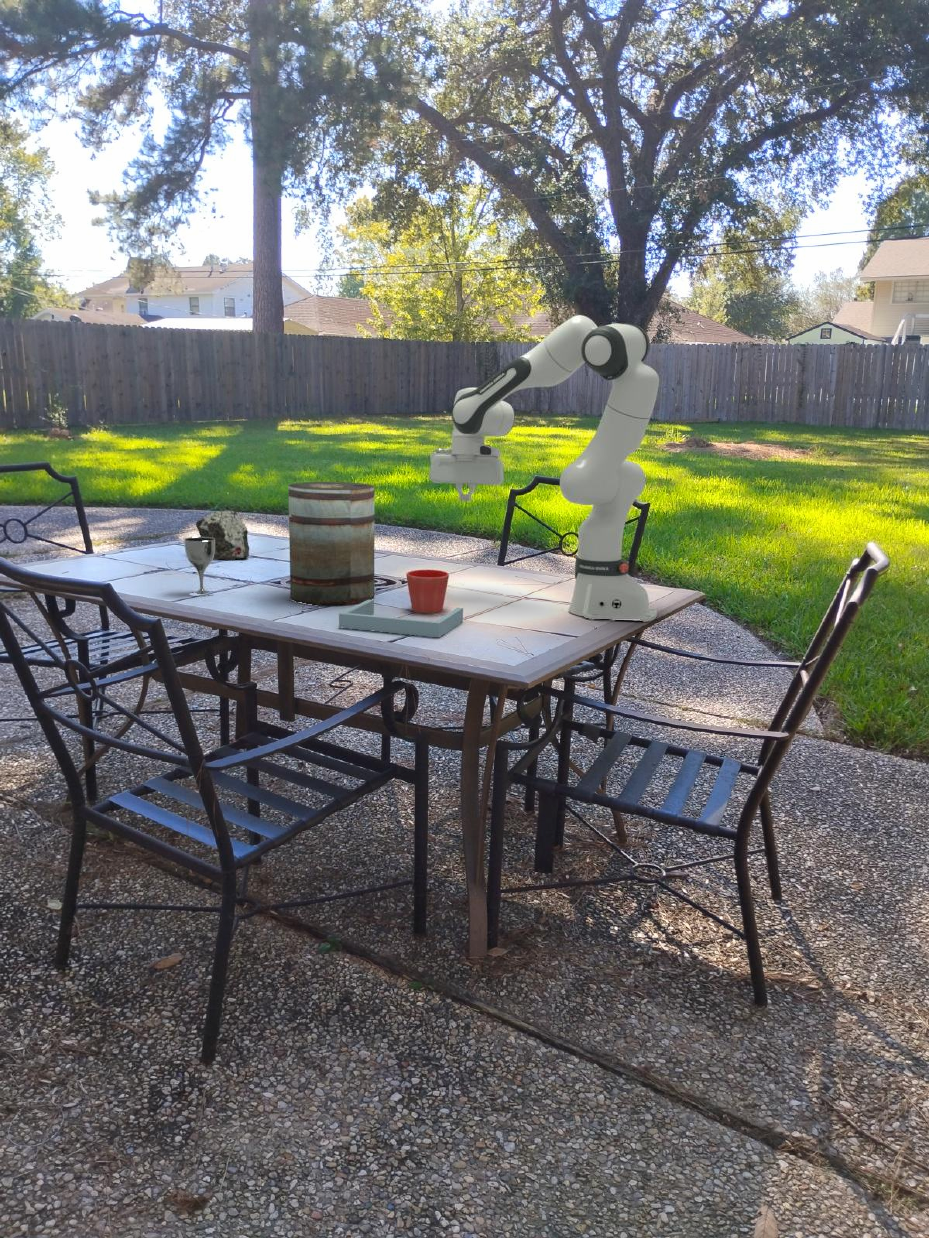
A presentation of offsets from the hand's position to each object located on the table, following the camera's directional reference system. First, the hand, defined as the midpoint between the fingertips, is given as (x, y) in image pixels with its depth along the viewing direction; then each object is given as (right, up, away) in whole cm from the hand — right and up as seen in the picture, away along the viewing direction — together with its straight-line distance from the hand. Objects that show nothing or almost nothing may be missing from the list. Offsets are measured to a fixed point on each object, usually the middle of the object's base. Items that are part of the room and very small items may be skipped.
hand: (465, 501), depth 271 cm
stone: (-79, -12, +59) cm, 100 cm away
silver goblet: (-71, -25, -1) cm, 76 cm away
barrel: (-36, -26, -1) cm, 44 cm away
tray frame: (-15, -33, -30) cm, 47 cm away
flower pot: (-10, -30, -14) cm, 35 cm away
